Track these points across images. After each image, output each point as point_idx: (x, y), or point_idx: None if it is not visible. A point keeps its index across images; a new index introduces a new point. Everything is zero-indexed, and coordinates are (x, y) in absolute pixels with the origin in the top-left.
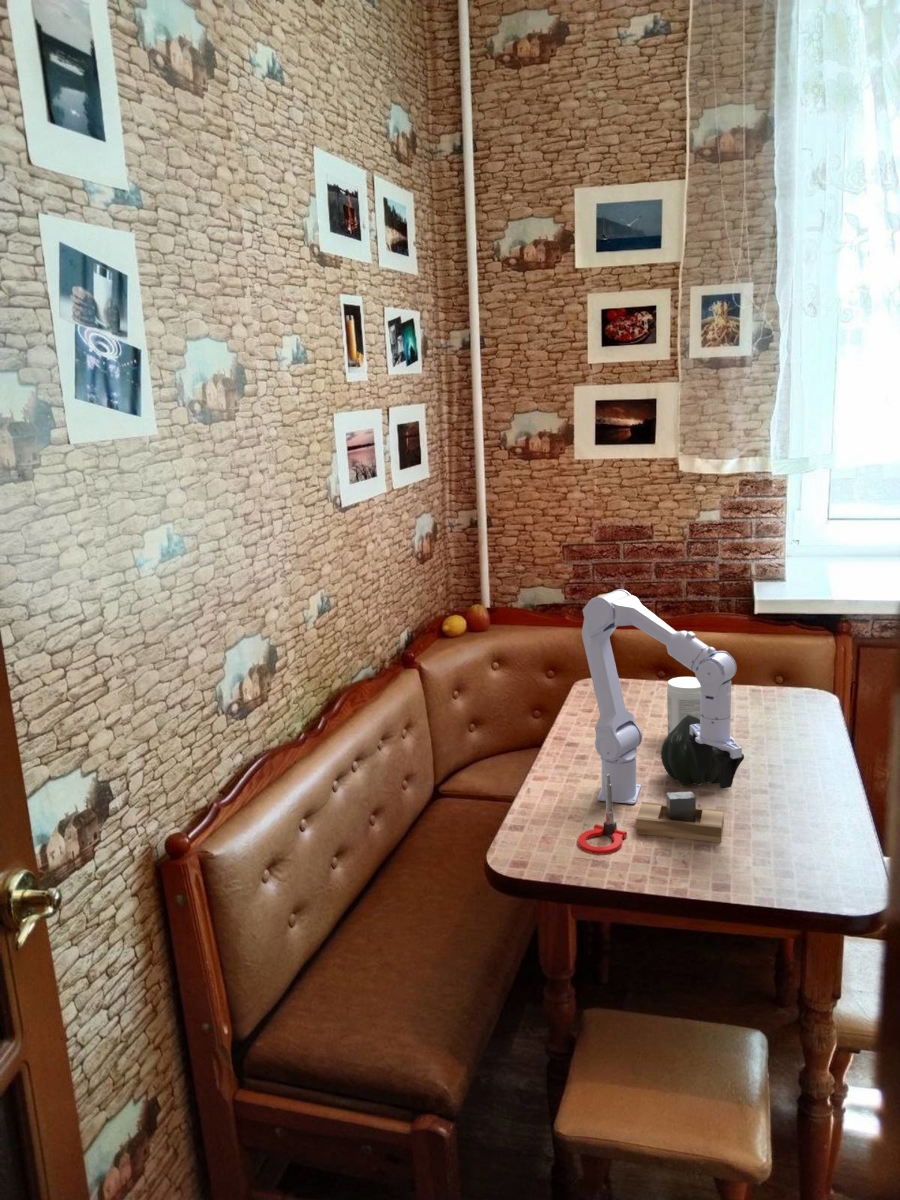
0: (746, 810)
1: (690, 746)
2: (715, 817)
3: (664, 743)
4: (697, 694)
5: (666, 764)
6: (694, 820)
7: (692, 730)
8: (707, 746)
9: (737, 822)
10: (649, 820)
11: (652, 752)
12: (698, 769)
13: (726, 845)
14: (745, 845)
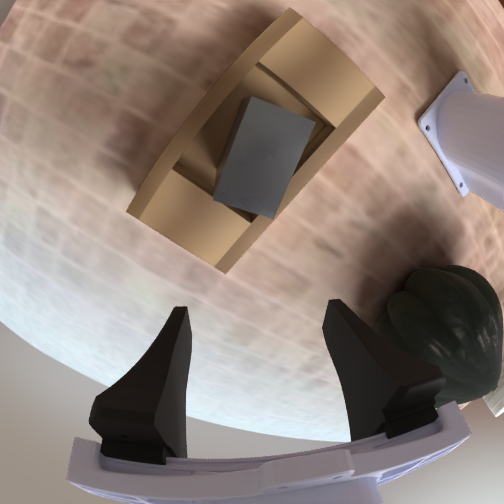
0: (262, 321)
1: (410, 365)
2: (189, 229)
3: (497, 302)
4: (498, 400)
5: (465, 273)
6: (216, 171)
7: (448, 429)
8: (358, 411)
9: (219, 281)
10: (261, 33)
11: (496, 285)
12: (336, 310)
13: (121, 199)
14: (112, 238)
